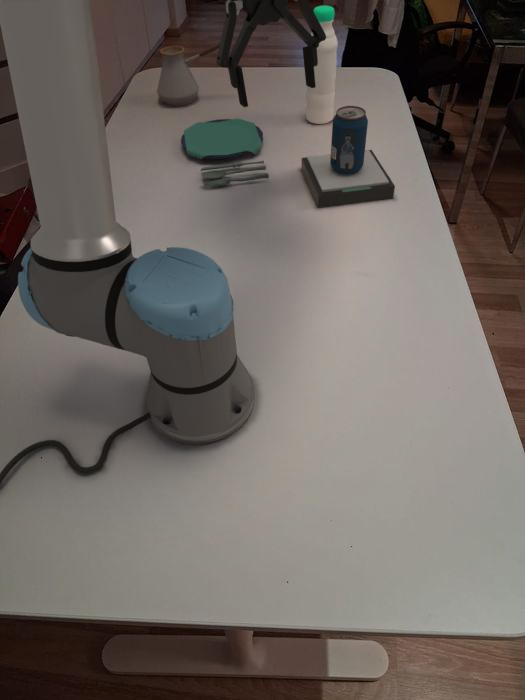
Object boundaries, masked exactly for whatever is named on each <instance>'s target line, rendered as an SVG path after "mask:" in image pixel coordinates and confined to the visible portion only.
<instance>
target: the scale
mask: <svg viewBox="0 0 525 700" xmlns="http://www.w3.org/2000/svg"><path fill="white" fill-rule="evenodd" d="M330 159H331V153H329V154H322V155H321V154H320V155H313V156H312V155H311V156H306V157H301V167H300V168H301V169H300V170H301V172H302V174H303V176H304V179H305V181H306V183H307V186H308V188H309V190H310V193H311V195H312V197H313V199H314V202H315V204H316V206H317V208H319V209H320V208H326V207H335V206H343V205H351V204H358V203H365V202H367V203H368V202H373V201H381V200H382V201H383V200H389V199H394V195H395V188H396V186H395V183H393V181H392V179H391V177H390V176H389V175H388V173H387V172H386V170H385V169H384V166H383V165H382V164H381V162H380V161H379V159H378V157H377V156H376V154H375V153H374V151H373V150H372V149H365V154H364V164H363V166H362V168H361V169H360V170H359V172H358V173H356V174H353V175H340V174H338V173H336V172H335V171H334V170H333V168H332V166H331V164H330Z"/></svg>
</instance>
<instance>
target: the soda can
mask: <svg viewBox="0 0 525 700" xmlns="http://www.w3.org/2000/svg"><path fill="white" fill-rule="evenodd" d="M335 112H336V113H335V114H334V116H333V119H332V128H331V145H330V154H331V159H330V164H331V166H332V168H333V170H334V171H335V172H336V173H338V174H340V175H353V174H356V173H358V172H359V170H360V169H361V168H362V166H363V164H364V154H365V150H366V143H367V134H368V124H369V120H368V117H367V115H366V114H367V112H366V110H365V109H364V108H363V107H360V106H356V105H345V106H340V107H339V108H338V109H336V111H335Z"/></svg>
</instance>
